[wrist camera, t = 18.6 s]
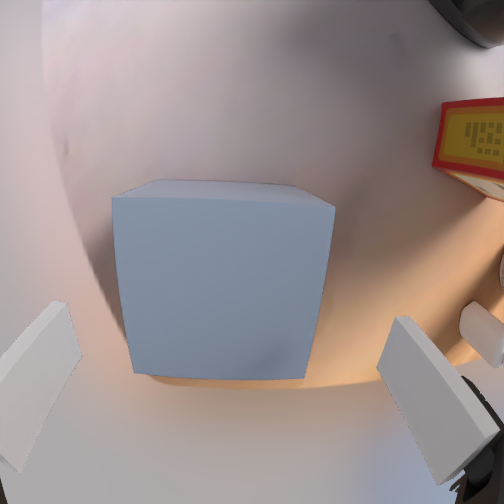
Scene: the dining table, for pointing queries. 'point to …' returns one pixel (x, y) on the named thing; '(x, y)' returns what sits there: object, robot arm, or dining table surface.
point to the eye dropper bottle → (483, 333)
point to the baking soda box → (473, 144)
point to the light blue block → (221, 277)
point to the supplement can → (502, 272)
